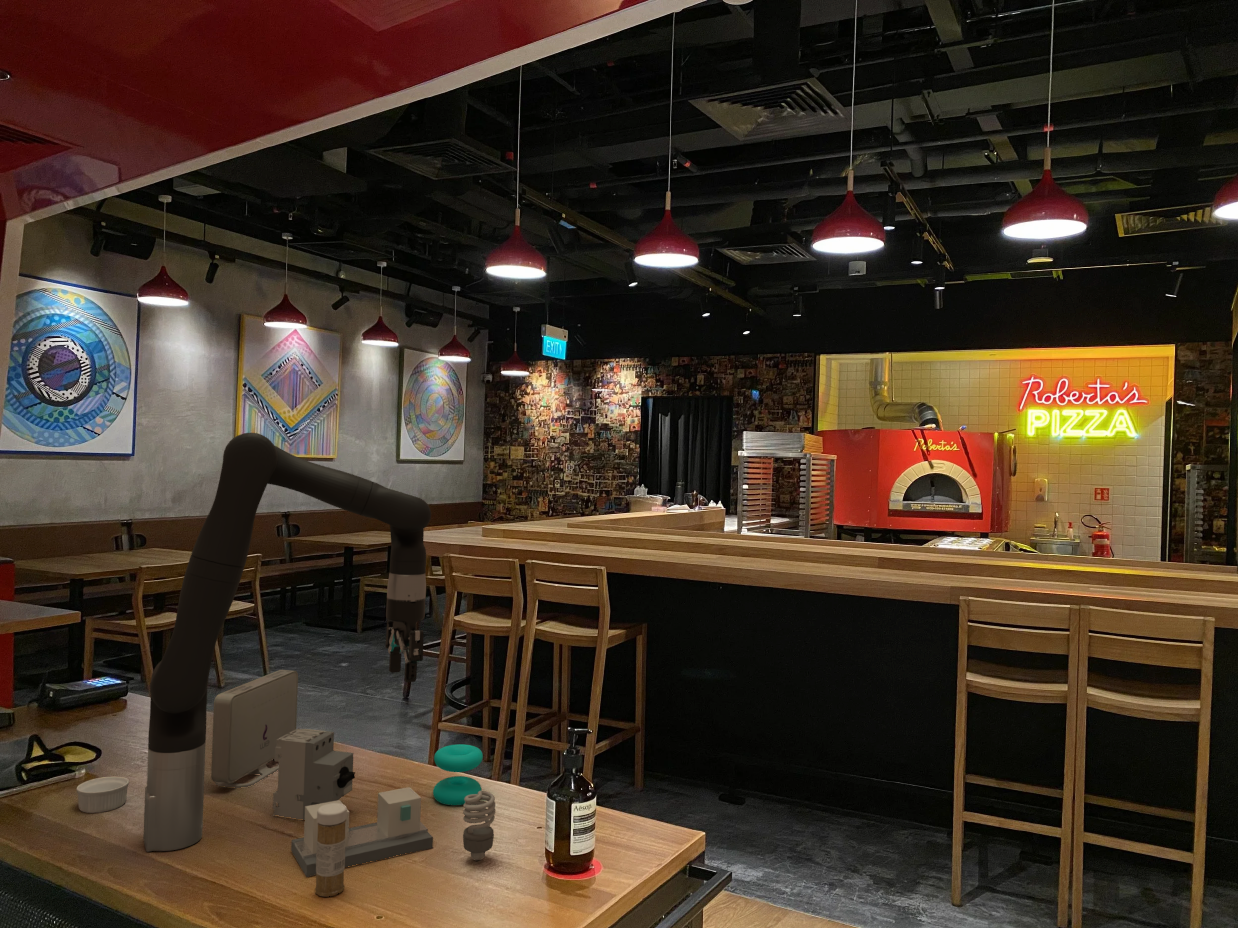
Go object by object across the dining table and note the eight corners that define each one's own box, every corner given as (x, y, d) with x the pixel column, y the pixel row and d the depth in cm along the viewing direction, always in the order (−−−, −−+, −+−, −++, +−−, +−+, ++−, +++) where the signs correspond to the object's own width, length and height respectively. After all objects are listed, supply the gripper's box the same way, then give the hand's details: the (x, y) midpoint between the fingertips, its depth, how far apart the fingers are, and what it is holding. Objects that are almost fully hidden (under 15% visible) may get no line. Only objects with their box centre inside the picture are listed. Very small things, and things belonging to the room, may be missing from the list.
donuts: (424, 751, 175) (456, 739, 184) (422, 800, 175) (455, 785, 184) (461, 761, 170) (492, 748, 179) (459, 811, 170) (491, 795, 179)
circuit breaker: (339, 825, 162) (342, 746, 162) (272, 816, 165) (275, 739, 165) (359, 809, 169) (361, 734, 169) (294, 802, 172) (297, 727, 172)
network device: (236, 795, 174) (240, 698, 174) (198, 791, 176) (202, 694, 176) (304, 755, 199) (307, 670, 200) (270, 751, 201) (273, 667, 201)
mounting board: (306, 876, 141) (306, 864, 141) (291, 850, 150) (291, 839, 150) (432, 847, 153) (432, 836, 153) (411, 825, 163) (411, 815, 163)
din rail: (303, 858, 143) (303, 855, 143) (294, 845, 148) (294, 842, 148) (427, 831, 156) (427, 828, 156) (416, 819, 161) (416, 817, 161)
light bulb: (479, 850, 153) (481, 783, 153) (500, 860, 150) (502, 791, 150) (454, 860, 149) (457, 792, 149) (476, 871, 145) (478, 800, 145)
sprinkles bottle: (335, 881, 140) (338, 799, 140) (349, 891, 137) (352, 807, 137) (309, 890, 137) (312, 807, 137) (322, 901, 134) (325, 815, 134)
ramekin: (66, 808, 166) (66, 786, 166) (111, 793, 173) (112, 772, 173) (93, 818, 161) (93, 795, 161) (138, 802, 169) (138, 781, 169)
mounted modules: (313, 855, 143) (314, 820, 144) (303, 840, 149) (305, 806, 149) (421, 832, 154) (422, 799, 154) (408, 818, 160) (409, 786, 160)
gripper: (376, 591, 174) (371, 670, 173) (401, 601, 162) (396, 687, 162) (411, 590, 178) (407, 667, 178) (438, 600, 166) (434, 683, 166)
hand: (402, 676), depth 170 cm, fingers open, 8 cm apart
